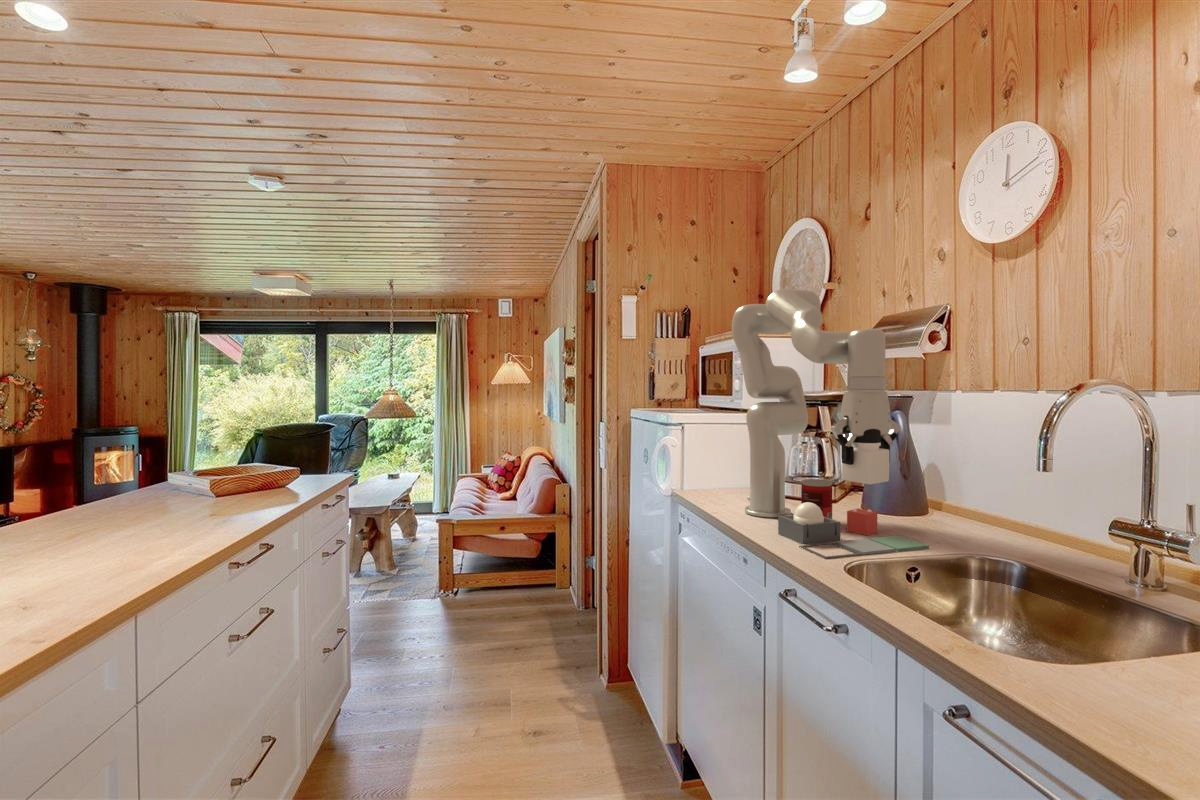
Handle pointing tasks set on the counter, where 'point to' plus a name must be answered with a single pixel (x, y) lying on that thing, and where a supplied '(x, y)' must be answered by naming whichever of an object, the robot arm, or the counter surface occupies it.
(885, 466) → the medicine bottle
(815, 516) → the dome
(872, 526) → the red die
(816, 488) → the canned food
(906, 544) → the game board
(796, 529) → the base
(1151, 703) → the counter surface
